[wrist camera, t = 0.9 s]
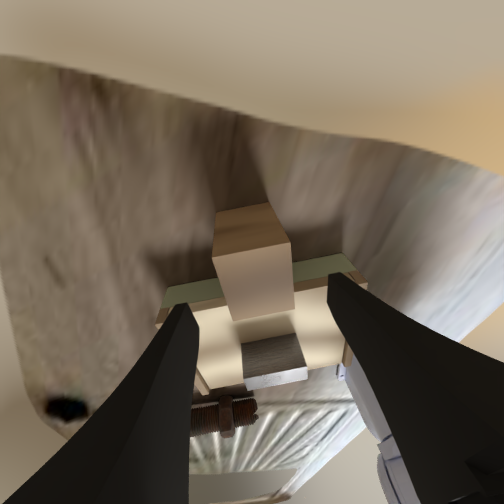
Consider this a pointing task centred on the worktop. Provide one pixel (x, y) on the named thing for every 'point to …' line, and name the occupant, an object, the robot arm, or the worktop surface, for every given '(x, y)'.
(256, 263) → the block
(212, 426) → the bolt
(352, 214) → the worktop surface
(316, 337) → the lid
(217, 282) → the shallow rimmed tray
